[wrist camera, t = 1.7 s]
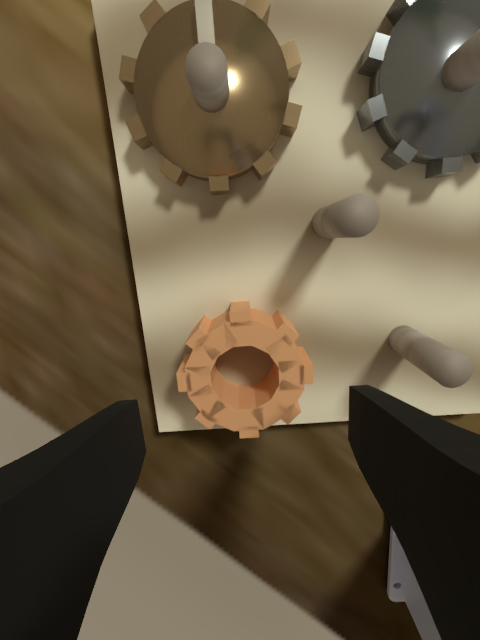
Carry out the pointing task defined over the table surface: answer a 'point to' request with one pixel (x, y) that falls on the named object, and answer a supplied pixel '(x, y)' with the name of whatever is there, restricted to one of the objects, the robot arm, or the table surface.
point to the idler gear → (245, 400)
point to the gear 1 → (244, 91)
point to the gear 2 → (422, 87)
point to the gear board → (306, 229)
